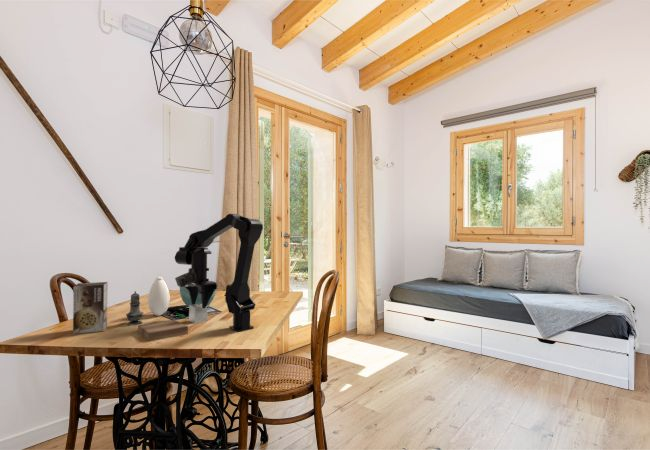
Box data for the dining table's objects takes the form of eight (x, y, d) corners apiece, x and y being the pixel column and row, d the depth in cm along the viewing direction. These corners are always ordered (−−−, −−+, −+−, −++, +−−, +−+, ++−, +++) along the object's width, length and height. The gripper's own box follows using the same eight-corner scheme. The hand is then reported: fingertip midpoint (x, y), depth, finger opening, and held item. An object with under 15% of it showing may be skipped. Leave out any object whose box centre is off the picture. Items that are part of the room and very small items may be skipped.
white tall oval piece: (155, 318, 140) (156, 272, 140) (143, 315, 144) (144, 271, 144) (173, 314, 147) (174, 270, 147) (161, 312, 151) (162, 269, 151)
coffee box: (107, 326, 127) (108, 281, 128) (103, 331, 121) (104, 284, 122) (77, 329, 124) (78, 282, 124) (71, 334, 118) (73, 285, 118)
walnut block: (187, 335, 120) (187, 326, 120) (149, 342, 112) (150, 333, 112) (173, 328, 129) (174, 319, 129) (137, 334, 120) (138, 325, 120)
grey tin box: (207, 321, 137) (207, 305, 137) (194, 323, 134) (194, 307, 134) (201, 318, 141) (201, 303, 141) (188, 320, 137) (189, 305, 137)
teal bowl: (173, 307, 161) (173, 283, 161) (207, 302, 171) (208, 280, 171) (186, 313, 149) (187, 287, 149) (222, 308, 159) (223, 284, 159)
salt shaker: (135, 325, 129) (136, 292, 129) (121, 324, 130) (122, 291, 130) (147, 321, 135) (147, 290, 135) (133, 320, 136) (134, 289, 136)
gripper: (168, 264, 139) (167, 305, 138) (188, 269, 125) (188, 313, 125) (196, 263, 146) (195, 301, 146) (218, 267, 133) (217, 309, 133)
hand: (198, 306), depth 137 cm, fingers open, 9 cm apart
